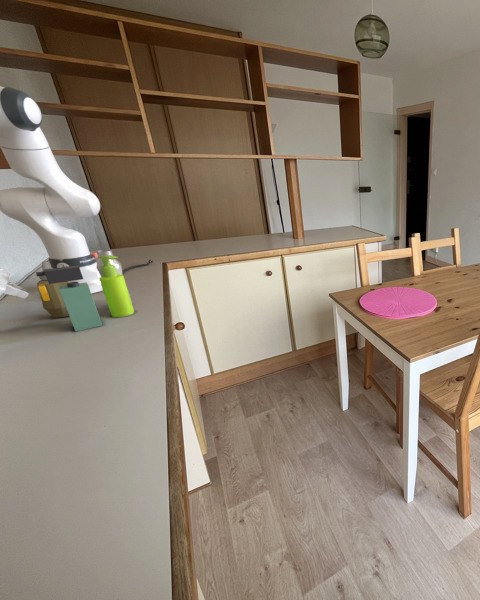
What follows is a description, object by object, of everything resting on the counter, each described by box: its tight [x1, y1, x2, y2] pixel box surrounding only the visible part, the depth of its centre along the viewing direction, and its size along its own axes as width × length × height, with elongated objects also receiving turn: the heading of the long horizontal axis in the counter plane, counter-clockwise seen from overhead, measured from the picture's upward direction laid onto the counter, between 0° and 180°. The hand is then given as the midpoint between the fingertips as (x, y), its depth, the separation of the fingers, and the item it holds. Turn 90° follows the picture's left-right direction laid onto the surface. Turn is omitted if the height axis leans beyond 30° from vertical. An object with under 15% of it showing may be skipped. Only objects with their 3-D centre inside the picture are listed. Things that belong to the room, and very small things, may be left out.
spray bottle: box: [35, 265, 103, 332], centre depth 92 cm, size 9×5×19 cm, turn 137°
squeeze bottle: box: [36, 260, 70, 318], centre depth 100 cm, size 8×8×18 cm
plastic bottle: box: [96, 249, 133, 303], centre depth 108 cm, size 6×7×20 cm
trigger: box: [37, 284, 50, 301], centre depth 88 cm, size 1×3×4 cm, turn 47°
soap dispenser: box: [97, 255, 135, 318], centre depth 102 cm, size 6×7×20 cm
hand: (27, 295), depth 86 cm, fingers closed
